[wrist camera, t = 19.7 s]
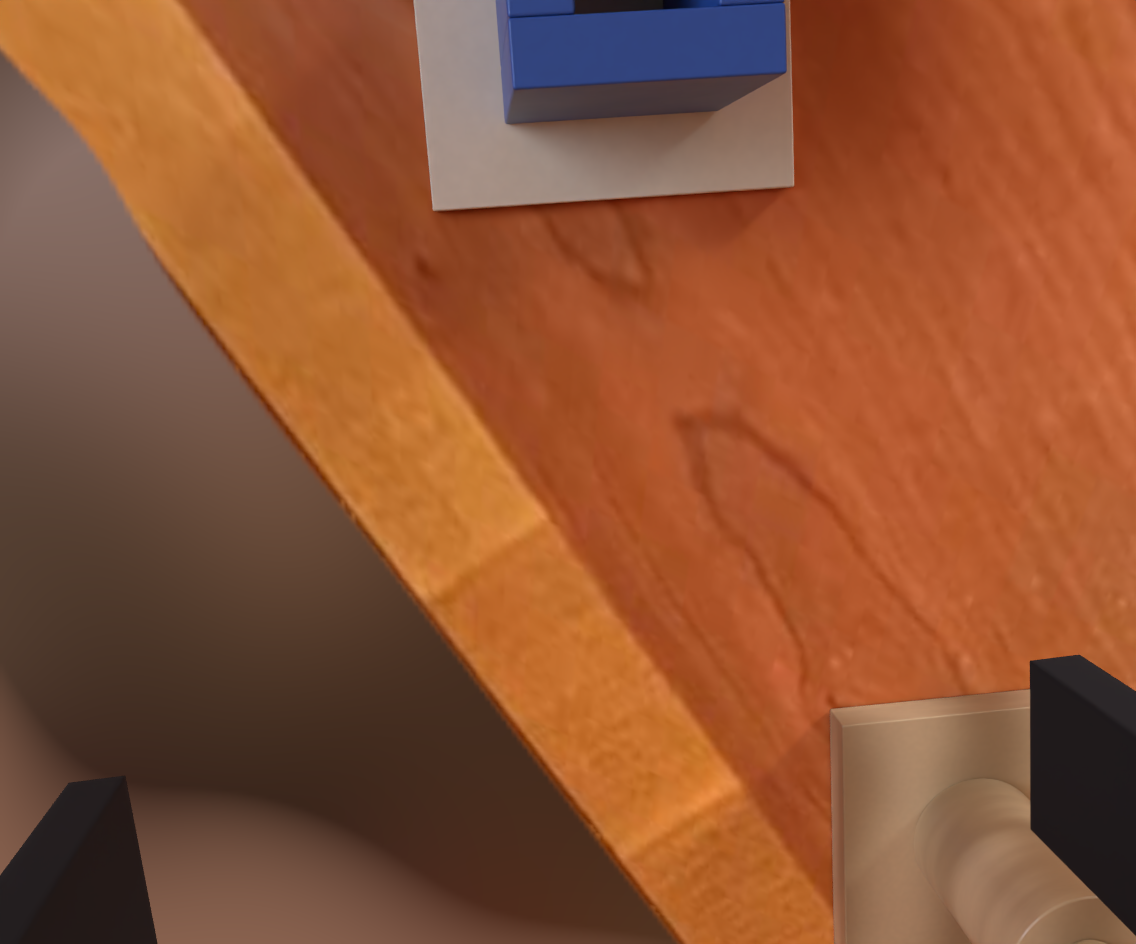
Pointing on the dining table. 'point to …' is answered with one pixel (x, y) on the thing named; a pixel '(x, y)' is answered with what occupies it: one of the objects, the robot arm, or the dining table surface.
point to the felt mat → (580, 128)
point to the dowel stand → (948, 831)
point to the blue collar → (635, 57)
